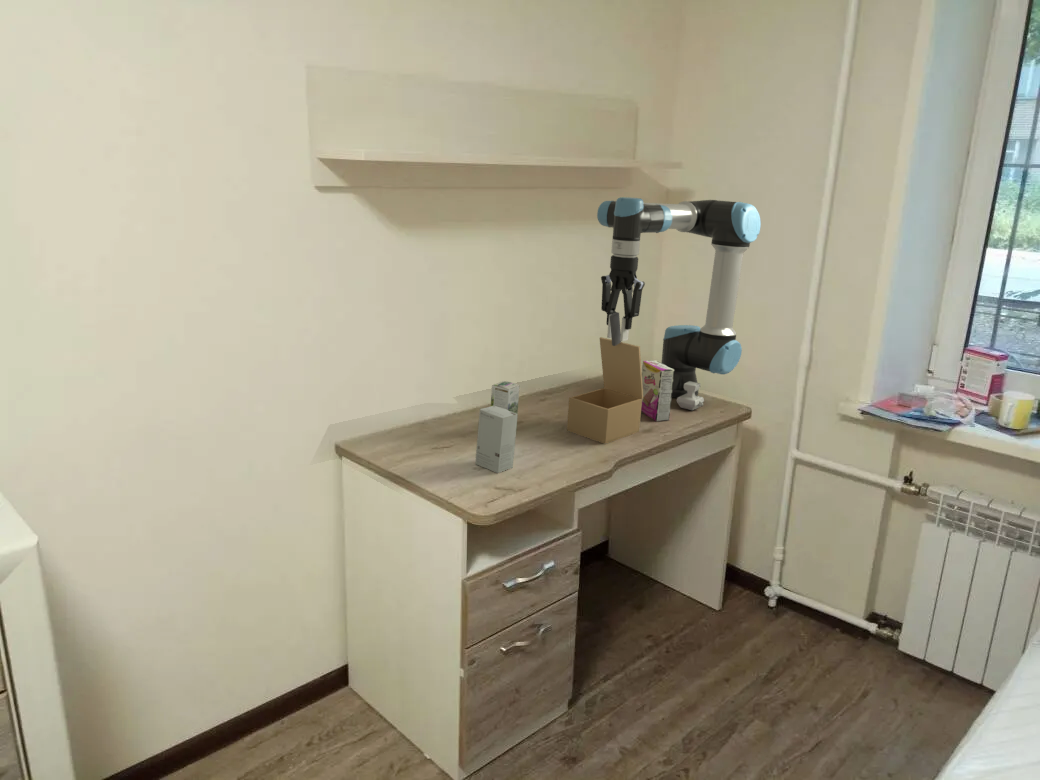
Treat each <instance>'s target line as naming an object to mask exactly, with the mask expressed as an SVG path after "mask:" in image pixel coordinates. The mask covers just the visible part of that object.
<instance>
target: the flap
mask: <svg viewBox="0 0 1040 780" xmlns="http://www.w3.org/2000/svg"><path fill="white" fill-rule="evenodd" d="M610 326H611V338H607V337H602V336H601V337H599V347H600V359H601V368H602V369H601V370H602V377H603V378H602V380H603V388H606V389H609V390H613V391H616V392H620V393H623V394H627V395H630V396H633V397H637V398H641V399H643V384H642V357H641V346H640V345H635V344H631V343H627V342H624V341H620V338H621V322H620V312H618V311H616V313H614V314H612V315H610Z"/></svg>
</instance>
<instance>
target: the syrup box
mask: <svg viewBox="0 0 1040 780" xmlns="http://www.w3.org/2000/svg"><path fill="white" fill-rule="evenodd" d="M490 397H491V398H490V400H491V401H490V407H491V406H497V407H500V408H503V409H506V410H508V411H511V412H513V413H516V414H519V413H518V412H519V399H520V384H517V383H515V382H511V381H507V380H506V381H505V380H502V381H500V382H498V383H494V384H493V385H491V395H490ZM517 430H518V429H517V427H516V431H517Z"/></svg>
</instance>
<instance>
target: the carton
mask: <svg viewBox="0 0 1040 780" xmlns="http://www.w3.org/2000/svg"><path fill="white" fill-rule="evenodd" d="M641 407H642V399H640V398H638V397H634V396H631V395H627V394H624V393H620V392H617V391H614V390H610V389H607V388H604V387H601V388H599V389H595V390H591V391H587V392H584V393H581V394H577V395H574V396H570V397H568V409H567V410H568V411H567V422H566V424H567V425H566V432H569V431H570V433H572V432H573V433H572V434H575V433H576V434H575V435H578V436H581V437H583V436H584V437H583V438H586V437H587V438H586V439H589V438H590V440H592V439H593V441H595V440H596V441H595V442H598V441H599V443H601V444H604V443H605V444H604V445H606V443H607V444H609V442H610V443H612V441H613V442H615V441H617V440H621V439H623V437H624V438H626V437H629V436H632V435H634V434H637V433H640V427H641V418H642V417H641V416H642V412H641ZM620 438H621V439H620Z"/></svg>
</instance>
